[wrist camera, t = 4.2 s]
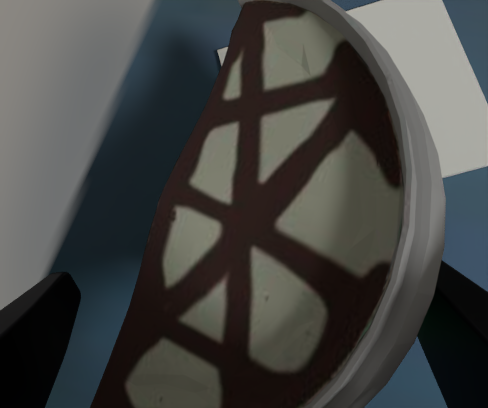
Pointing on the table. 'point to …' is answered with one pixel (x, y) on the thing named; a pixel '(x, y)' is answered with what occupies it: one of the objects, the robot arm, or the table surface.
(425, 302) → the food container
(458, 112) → the mat
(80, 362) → the table surface
